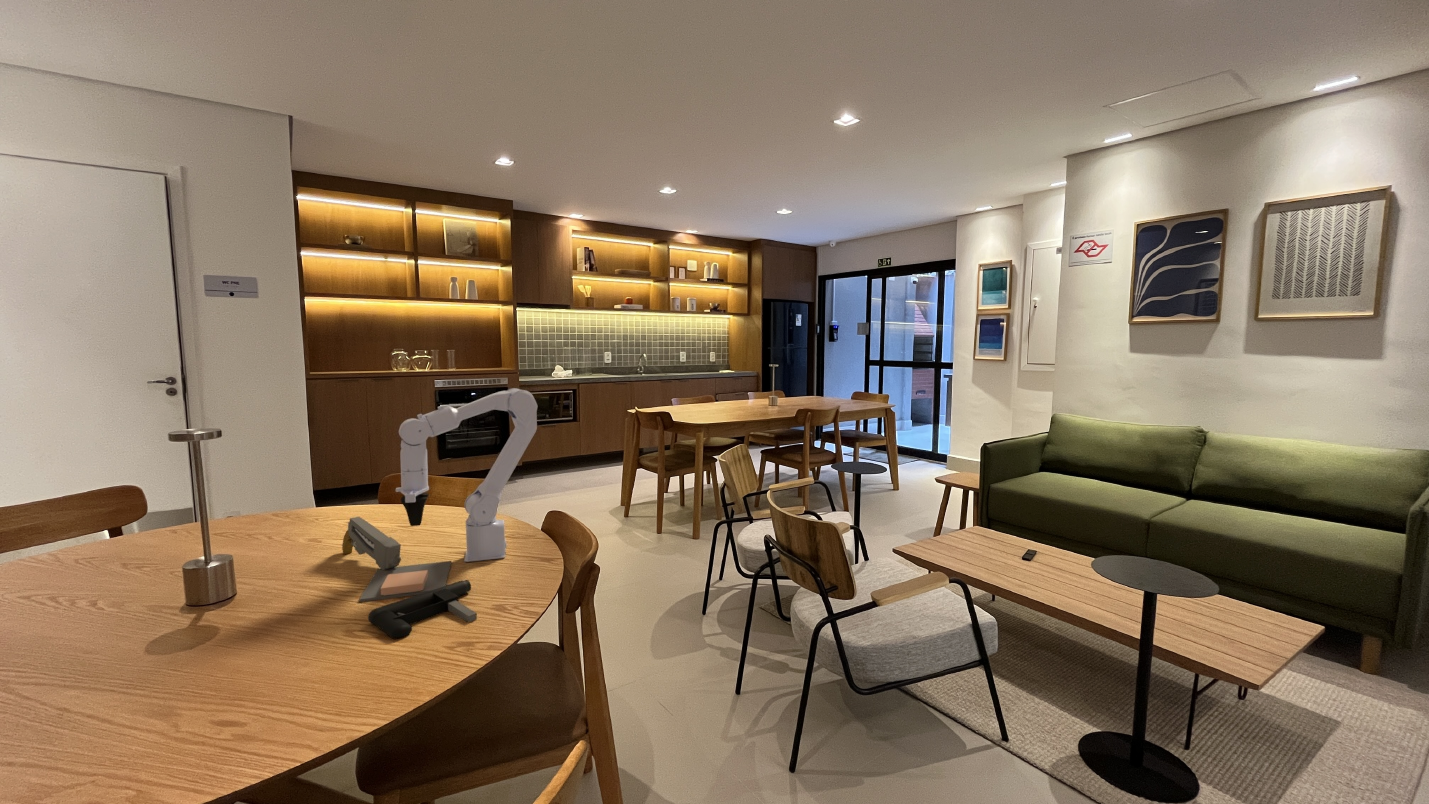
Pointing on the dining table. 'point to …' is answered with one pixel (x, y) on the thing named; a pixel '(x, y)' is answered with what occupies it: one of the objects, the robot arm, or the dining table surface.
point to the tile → (404, 582)
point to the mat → (435, 572)
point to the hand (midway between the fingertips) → (415, 525)
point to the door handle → (422, 609)
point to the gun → (371, 543)
